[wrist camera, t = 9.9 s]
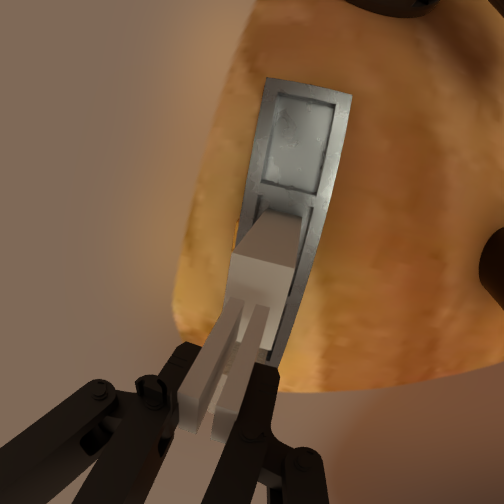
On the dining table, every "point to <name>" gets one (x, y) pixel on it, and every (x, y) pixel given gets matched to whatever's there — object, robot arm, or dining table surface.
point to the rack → (292, 183)
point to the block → (264, 269)
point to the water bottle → (493, 267)
